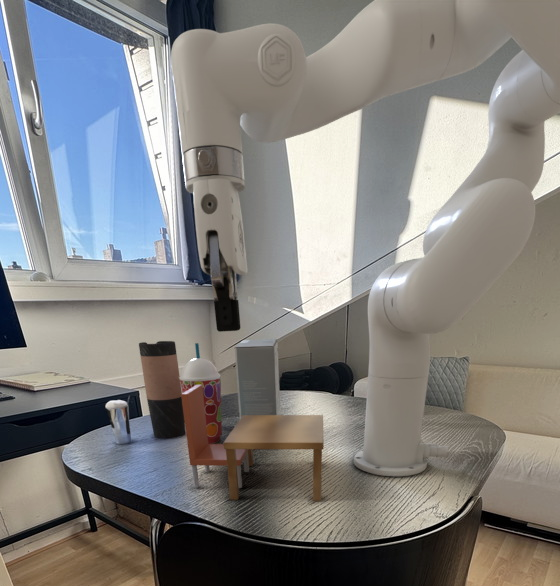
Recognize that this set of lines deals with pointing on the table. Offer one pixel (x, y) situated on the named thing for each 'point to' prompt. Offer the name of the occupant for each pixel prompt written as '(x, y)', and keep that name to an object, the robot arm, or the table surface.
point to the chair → (205, 437)
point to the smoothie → (205, 391)
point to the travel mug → (163, 388)
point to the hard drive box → (258, 377)
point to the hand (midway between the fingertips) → (228, 330)
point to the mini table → (275, 442)
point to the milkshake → (119, 420)
